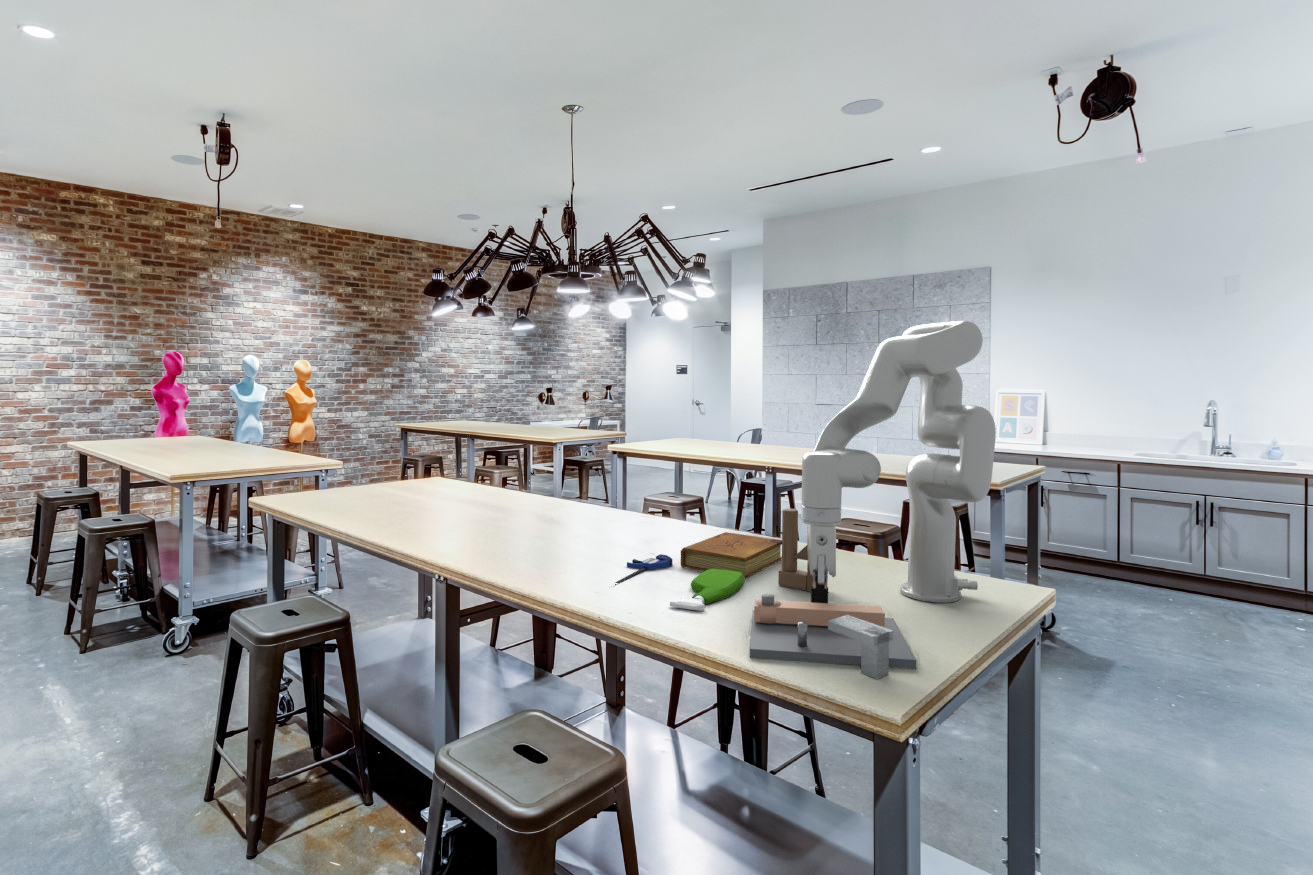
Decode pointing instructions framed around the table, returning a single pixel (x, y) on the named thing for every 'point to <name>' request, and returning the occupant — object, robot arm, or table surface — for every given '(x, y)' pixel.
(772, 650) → the base board
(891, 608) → the table surface
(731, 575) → the spray bottle
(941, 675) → the table surface
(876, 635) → the keeper
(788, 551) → the wooden block
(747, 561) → the diary
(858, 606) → the link
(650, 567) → the bar clamp
